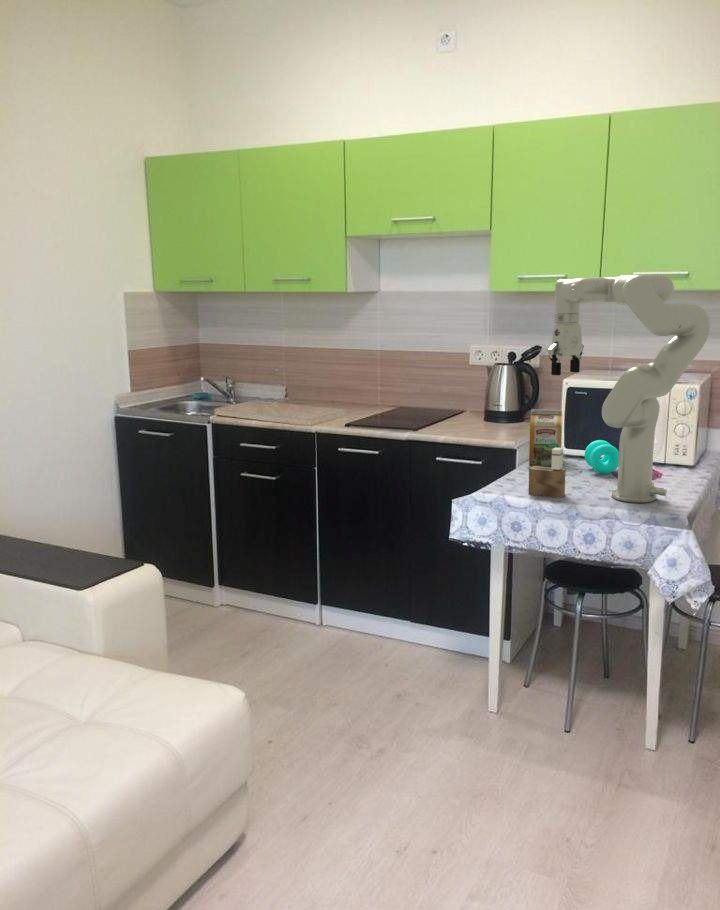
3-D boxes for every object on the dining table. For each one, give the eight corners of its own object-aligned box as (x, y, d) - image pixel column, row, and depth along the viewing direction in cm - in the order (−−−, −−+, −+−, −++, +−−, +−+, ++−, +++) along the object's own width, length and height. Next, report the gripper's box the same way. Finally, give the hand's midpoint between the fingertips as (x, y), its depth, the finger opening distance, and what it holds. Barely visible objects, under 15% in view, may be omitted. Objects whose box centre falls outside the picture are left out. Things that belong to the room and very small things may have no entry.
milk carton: (529, 465, 279) (530, 412, 275) (531, 458, 289) (532, 407, 285) (560, 466, 277) (561, 412, 272) (560, 459, 286) (562, 407, 282)
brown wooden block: (564, 494, 242) (565, 468, 240) (560, 498, 238) (561, 471, 236) (533, 490, 247) (533, 465, 245) (528, 494, 243) (528, 468, 242)
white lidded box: (562, 467, 240) (563, 448, 239) (559, 469, 237) (559, 450, 236) (554, 466, 241) (555, 447, 240) (551, 469, 238) (551, 449, 237)
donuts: (590, 475, 264) (591, 445, 262) (583, 467, 274) (584, 439, 272) (620, 474, 264) (622, 445, 262) (612, 467, 273) (613, 438, 271)
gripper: (559, 321, 242) (558, 377, 245) (593, 318, 252) (591, 371, 256) (539, 320, 247) (538, 375, 251) (573, 317, 258) (572, 370, 262)
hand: (565, 373), depth 254 cm, fingers open, 9 cm apart
